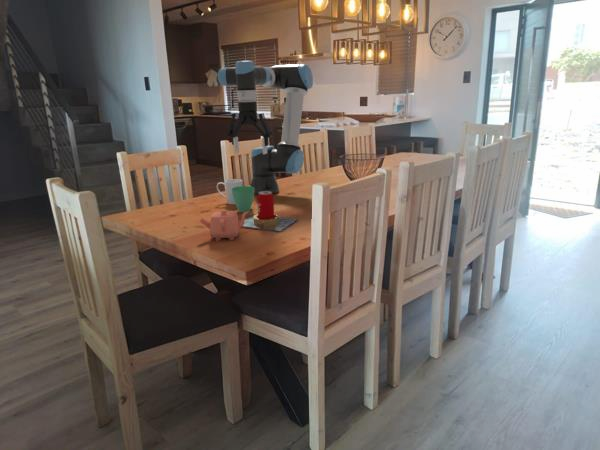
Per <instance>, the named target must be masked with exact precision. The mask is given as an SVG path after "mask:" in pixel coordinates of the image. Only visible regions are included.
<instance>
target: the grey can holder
mask: <svg viewBox="0 0 600 450" xmlns="http://www.w3.org/2000/svg"><path fill="white" fill-rule="evenodd" d="M298 221H299V219H298V218H290V217H289V218H288V217H284V216H283V217H281V216H280V214H278V213H275V212H274V218H271V219H259V218H258V213H257V214H253V215H251V216H249V217H247V218H245V221H244V225H243V226H242V227H241V228H243V229H252V230H259V231H260V230H261V231H266V232H267V231H268V232H276V233H281V232H283V231H284V230H286V229H287V228H289V227H290V226H292V225H294V224H295V223H297V222H298Z"/></svg>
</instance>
